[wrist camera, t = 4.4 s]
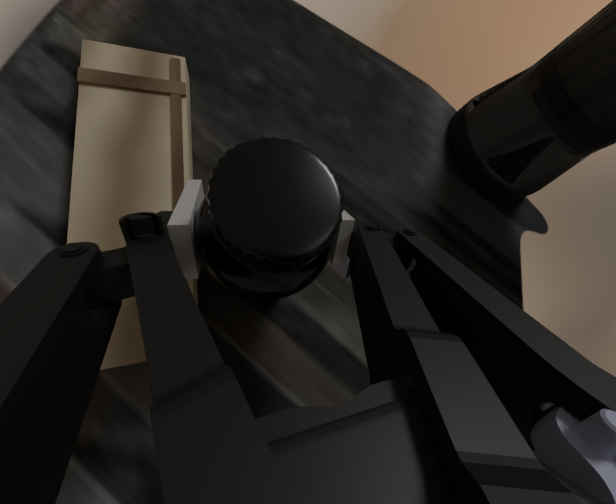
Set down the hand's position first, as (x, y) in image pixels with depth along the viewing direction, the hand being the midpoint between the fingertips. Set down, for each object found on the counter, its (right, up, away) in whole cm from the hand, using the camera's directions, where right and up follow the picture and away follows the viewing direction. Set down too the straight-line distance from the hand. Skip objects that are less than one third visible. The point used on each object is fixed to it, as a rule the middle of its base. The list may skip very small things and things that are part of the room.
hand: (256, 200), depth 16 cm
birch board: (-9, +1, +2) cm, 9 cm away
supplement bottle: (-1, -4, +3) cm, 6 cm away
